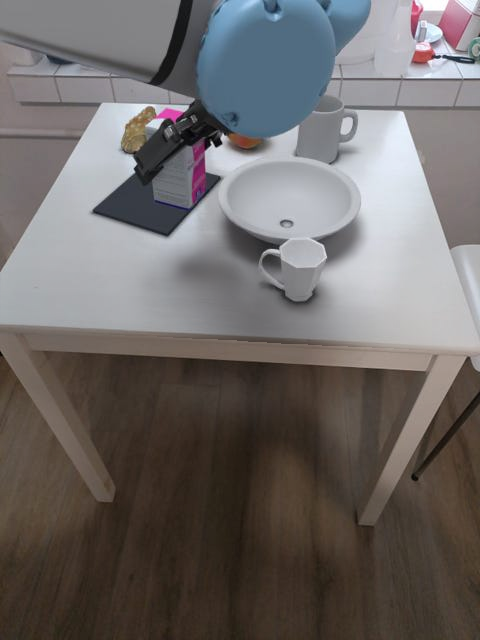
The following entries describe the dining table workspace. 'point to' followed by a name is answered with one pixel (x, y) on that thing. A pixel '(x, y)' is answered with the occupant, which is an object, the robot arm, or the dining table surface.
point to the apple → (244, 141)
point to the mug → (324, 130)
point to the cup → (298, 267)
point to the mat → (145, 206)
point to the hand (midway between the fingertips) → (164, 165)
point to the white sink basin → (289, 198)
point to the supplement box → (179, 171)
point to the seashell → (137, 130)
